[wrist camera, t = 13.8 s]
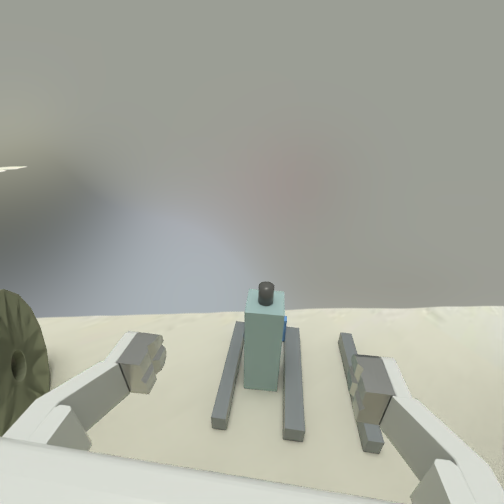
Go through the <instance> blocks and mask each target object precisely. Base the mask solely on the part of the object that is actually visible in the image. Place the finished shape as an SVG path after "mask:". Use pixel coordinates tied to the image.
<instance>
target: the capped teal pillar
mask: <svg viewBox="0 0 504 504" xmlns="http://www.w3.org/2000/svg"><path fill="white" fill-rule="evenodd" d="M284 317H285V308H284V292H282V291H274V285H273V284H272V283H271V282H261V283H260V284H259V290H255V289H249V292H248V298H247V303H246V308H245V331H244V388H248V389H258V390H267V391H276V392H277V383H278V374H279V365H280V355H281V346H282V336H283V327H284Z"/></svg>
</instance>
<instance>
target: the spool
mask: <svg viewBox="0 0 504 504" xmlns="http://www.w3.org/2000/svg"><path fill="white" fill-rule="evenodd" d="M49 381H50V372H49V364H48V356H47V349H46V345H45V342H44V338H43V335H42V331H41V328H40V325H39V323H38V321H37V319H36V317H35V316H34V313H33V311H32V310H31V308H30V307H29V306H28V304H27V303H26V302H25V301H24V300H23V299H22V298H21V297H20V296H19V295H18V294H16V293H13V292H10V291H8V290H5V289H2V290H0V437H2V436H3V435H4V434H5V433H6V432H7V431H8V430H9V428H10V427H11V426H12V425H13V424H14V423H15V422H16V421H17V420H18V419H19V417H20V416H21V415H22V414H23V413H24V412H25V411H26V410H27V409H28V408H29V406H30V405H31V404H32V403H33V402H34V401H35V400H36V399H38V398H39V397H41V396H43V395H44V394H46V393H48V392H49Z"/></svg>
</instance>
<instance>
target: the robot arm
mask: <svg viewBox="0 0 504 504" xmlns="http://www.w3.org/2000/svg"><path fill="white" fill-rule="evenodd" d="M162 343H163V337H162V335H156V334H149V333H141V332H132V331H128V332H126V333H125V334H124V335H123V337H122V338H121V339H120V340H119V342H118V343H117V344H116V346H115V347H114V348H113V350H112V351H111V352H110V353H109V355H108V356H107V357H106V359H105V360H104V361H103V362H101V361H100V362H98V363H96V364H95V365H93V366H91V367H90V368H88V369H86V370H85V371H83V372H81V373H80V374H78V375H76V376H75V377H73V378H71V379H70V380H68V381H66V382H65V383H63V384H61V385H59V386H58V387H56V388H54V389H53V390H51V391H49V392H48V393H46V394H44V395H43V396H41V397H39V398H38V399H36V400H35V401H34V402H33V403H32V404H31V405H30V406H29V408H28V409H27V410H26V411H25V412H24V413H23V414H22V415H21V416H20V417H19V419H18V420H17V421H16V422H15V423H14V424H13V425H12V426H11V427H10V428H9V430H8V431H7V432H6V433H5V434H4V435H3V436H2V437H0V504H405V503H399V502H393V501H387V500H381V499H375V498H369V497H363V496H357V495H351V494H345V493H339V492H332V491H326V490H320V489H314V488H308V487H302V486H296V485H290V484H284V483H278V482H272V481H266V480H260V479H254V478H248V477H242V476H236V475H230V474H224V473H218V472H212V471H206V470H200V469H194V468H188V467H182V466H176V465H170V464H164V463H158V462H152V461H146V460H140V459H134V458H127V457H121V456H115V455H109V454H103V453H97V452H91V451H89V449H90V447H91V446H92V442H91V440H90V438H89V436H88V435H87V433H86V431H88V430H89V429H90V428H91V427H92V426H93V425H94V424H96V423H97V422H98V421H99V420H100V419H101V418H102V417H104V416H105V415H106V414H107V413H108V412H109V411H110V410H112V409H113V408H114V407H115V406H116V405H117V404H118V403H120V402H121V401H122V400H123V399H124V398H125V397H126V396H128V395H129V394H130V392H131V393H141V394H149V393H150V391H151V389H152V388H153V386H154V384H155V382H156V380H157V379H156V374H157V373H158V372H160V371H161V370H162V368H163V366H164V363H165V360H166V349H165V347H164V346H163V345H162ZM351 363H352V366H351V367H349V369H348V373H347V382H348V389H349V393H350V394H351V395H352V396H353V397H354V398H353V401H352V407H353V411H354V416H355V420H356V422H362V423H368V424H374V425H380V426H379V427H380V428H381V429H382V431H383V432H384V433H385V435H386V436H387V438H388V439H389V440H390V442H391V443H392V444H393V446H394V447H395V448H396V450H397V451H398V452H399V454H400V455H401V456H402V458H403V459H404V460H405V462H406V463H407V464H408V466H409V467H410V468H411V470H412V471H413V472H414V474H415V475H416V476H417V478H418V479H419V480H420V483H419V484H418V486H417V487H416V488H415V490H414V491H413V493H412V494H411V496H410V498H411V501H412V504H504V490H503V488H502V487H501V485H500V483H499V481H498V480H497V478H496V476H495V474H494V473H493V471H492V469H491V468H490V466H489V465H488V464H487V463H486V462H485V461H484V460H483V459H482V458H481V457H480V456H479V455H478V454H476V453H475V452H474V451H473V450H472V449H471V448H470V447H469V446H468V445H467V444H466V443H465V442H463V441H462V440H461V439H460V438H459V437H458V436H457V435H456V434H455V433H454V432H453V431H451V430H450V429H449V428H448V427H447V426H446V425H445V424H444V423H443V422H442V421H441V420H439V419H438V418H437V417H436V416H435V415H434V414H433V413H432V412H431V411H430V410H429V409H428V408H426V407H425V406H424V405H423V404H422V403H421V402H420V401H419V400H418V399H414V398H412V395H411V393H410V391H409V389H408V387H407V384H406V382H405V380H404V378H403V376H402V373H401V371H400V369H399V367H398V365H397V362H396V360H395V359H394V358H388V357H379V356H369V355H357V354H353V355H352V358H351Z"/></svg>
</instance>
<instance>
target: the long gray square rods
mask: <svg viewBox="0 0 504 504" xmlns="http://www.w3.org/2000/svg"><path fill="white" fill-rule="evenodd" d="M286 323H287V316H285V317H284V327H283V336H282V341H284V406H283V439H287V440H293V441H300V442H303V438H304V433H305V423H304V405H303V388H302V370H301V352H300V335H299V328H294V327H286ZM244 331H245V322H238V321H236V324H235V328H234V331H233V335H232V339H231V343H230V347H229V351H228V355H227V358H226V362H225V366H224V370H223V374H222V378H221V381H220V385H219V389H218V393H217V397H216V401H215V405H214V408H213V412H212V416H211V420H212V428H215V429H222V430H226V428H227V423H228V418H229V413H230V408H231V403H232V398H233V393H234V388H235V383H236V378H237V373H238V368H239V363H240V358H241V353H242V348H243V343H244ZM338 344H339V348H340V353H341V357H342V361H343V366H344V370H345V374H346V378H347V373H348V369H349V367H351V366H352V363H351V358H352V355H353V354H357V351H356V348H355V344H354V341H353V338H352V335H351V334H350V333H340V337H339V341H338ZM357 355H358V354H357ZM347 383H348V382H347ZM350 396H351V400H352V401H353V398H354V397H353V396H352V395H351V394H350ZM357 426H358V430H359V435H360V439H361V443H362V448H363V451H365V452H371V453H378V454H379V453H380V451H381V449H382V447H383V445H384V440H383V437H382V433H381V430H380V427H379V425H374V424H368V423H362V422H357Z"/></svg>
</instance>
